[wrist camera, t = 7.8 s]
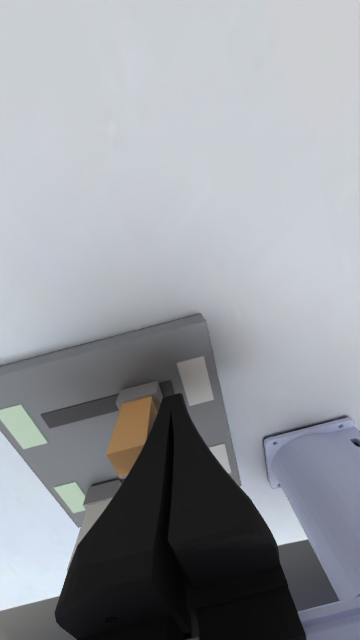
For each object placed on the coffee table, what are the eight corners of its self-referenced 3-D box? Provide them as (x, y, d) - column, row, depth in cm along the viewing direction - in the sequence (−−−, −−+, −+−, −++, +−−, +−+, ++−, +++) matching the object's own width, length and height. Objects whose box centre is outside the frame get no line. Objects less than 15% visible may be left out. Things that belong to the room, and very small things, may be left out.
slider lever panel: (200, 313, 13) (206, 321, 11) (234, 463, 19) (241, 487, 17) (-8, 368, 14) (-38, 386, 12) (86, 501, 19) (77, 529, 17)
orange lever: (157, 380, 12) (152, 439, 8) (165, 403, 13) (165, 468, 9) (120, 390, 12) (96, 453, 8) (130, 412, 13) (113, 481, 9)
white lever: (119, 479, 15) (101, 560, 11) (127, 494, 16) (113, 575, 12) (88, 487, 15) (59, 570, 11) (98, 501, 16) (74, 585, 12)
